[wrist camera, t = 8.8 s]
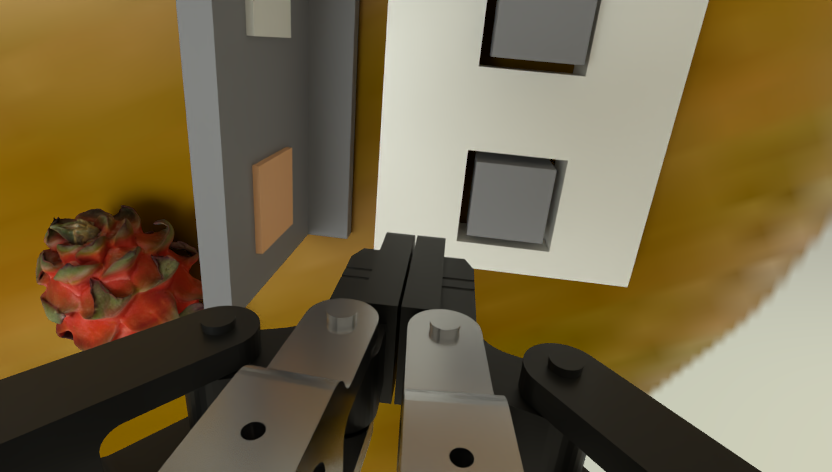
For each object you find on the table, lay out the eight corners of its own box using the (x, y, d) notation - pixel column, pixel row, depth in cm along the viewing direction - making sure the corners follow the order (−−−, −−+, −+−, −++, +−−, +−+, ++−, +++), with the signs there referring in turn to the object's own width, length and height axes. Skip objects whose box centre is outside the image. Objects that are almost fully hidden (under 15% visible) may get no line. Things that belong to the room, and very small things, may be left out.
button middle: (501, -36, 22) (506, -48, 20) (588, -29, 22) (605, -40, 19) (489, 55, 24) (492, 56, 21) (570, 63, 24) (584, 65, 21)
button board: (419, -340, 20) (411, -402, 17) (767, -325, 19) (818, -388, 16) (382, 236, 30) (373, 256, 27) (612, 263, 29) (627, 287, 26)
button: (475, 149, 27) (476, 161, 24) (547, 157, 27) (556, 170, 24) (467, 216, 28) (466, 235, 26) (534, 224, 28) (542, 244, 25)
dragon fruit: (120, 172, 32) (250, 294, 36) (3, 263, 29) (158, 382, 34) (106, 166, 24) (272, 321, 29) (-52, 288, 22) (156, 436, 26)
